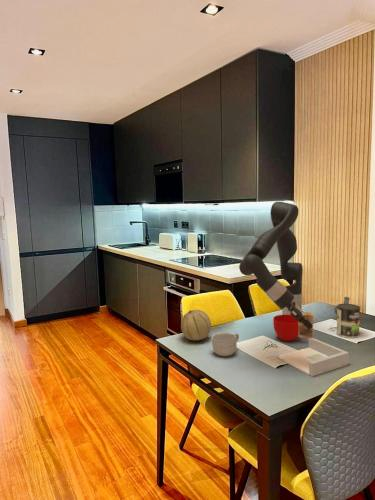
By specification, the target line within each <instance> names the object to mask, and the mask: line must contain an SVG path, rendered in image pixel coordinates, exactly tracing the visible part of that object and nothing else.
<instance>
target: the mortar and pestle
mask: <svg viewBox="0 0 375 500" xmlns="http://www.w3.org/2000/svg"><path fill="white" fill-rule="evenodd" d="M343 299H344V300H343V304H350V303H349V302H350V300H351V299H350V297H348V296H344V297H343ZM334 314H335V315H336V316H337V305H336V306H334Z"/></svg>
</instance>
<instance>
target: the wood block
mask: <svg viewBox="0 0 375 500" xmlns="http://www.w3.org/2000/svg"><path fill="white" fill-rule="evenodd" d="M302 313H303V316H304V317H306V319H307V320H308V321H309V322H310V323H311V324H312V325H313V327H312V328H311V329H308V328H307V327H306V326H305V325H304V324H303V323H300V322H299V321H298V336H297V337H298V338H304V339H305V338H307V339H309V338H314V314H313V313H314V312H312V311H311V312H310V311H309V312H308V311H307V312H306V311H303V312H302ZM301 318H302V317H299V319H301Z"/></svg>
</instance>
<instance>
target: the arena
mask: <svg viewBox="0 0 375 500" xmlns="http://www.w3.org/2000/svg"><path fill="white" fill-rule="evenodd" d="M349 356H350V354H349V351H346V350H343V349H341V348H338V347H336V346H333V345H332V344H329V343H327V342H323V341H321V340H319V339H317V338H314V337H313V338H308V347H306V348H302V349H298V350H294V351H291V352H287V353H283V354H281V355H277V356H276V358H277V357H278V358H277V359H279V358H280V359H282V360H283V361H282V360H281V361H282V362H284V361H285V362H284V363H286V364H288V365H290V366H292V367H293V368H296V369H297V370H300V371H301V372H303V373H305V374H307V375H309V376H311V377H315V376H318V375H321V374H324V373H327V372H331V371H334V370H336V369H340V368H342V367H346V366H348V365H349V363H350V362H349V359H350V357H349ZM280 359H279V360H280Z"/></svg>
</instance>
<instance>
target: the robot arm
mask: <svg viewBox="0 0 375 500" xmlns="http://www.w3.org/2000/svg"><path fill="white" fill-rule="evenodd" d="M299 211H300V210H299V207H298V206H297V205H295V204H294V203H289V202H285V201H284V202H283V201H275V202H274V203H273V204H272V205H271V207H270V221H271V224H272V226H273V227H272V228H270V229H268V230H267V231H265V232H263V233H261V235H260V236H258V238H257V240H256V241H255V242H254V244H253V245H252V247H251V248H250V249H249V251H248V252H247V253H246V255H245V256H244V257H243V258H242V260H240V262H239V265H238V268H239V272H240V273H241V274H242V275H244V276H246V277H247V276H251V275H254V276H255V277H256V280H255V282H256V284H257V286H258V287H259V288H260V289H261V290H262V291H263V292H264V293H265V294H266V296H267V297H268V298H269V299H270V300H271V301H272V302H273V303H274V304H275V305H276V306H277V307H278V308H279V309H280V310H282V312H281V313H282V314H281V315H292V316H293V317H294V318H295V319H297V320H298V321H299V322H300V323H303V324H304V325H305V326H306V327H307V328H308V329H311V328H312V327H313V328H314V324H313V325H312V324H311V323H310V322H309V321H308V320H307V319H306V317H304V316H303V313H302V312H304V311H303V310H302V308H303V306H302V305H303V298H302V297H303V296H302V295H303V290H302V289H303V271H304V270H303V264H302V263H300V262H289V261H290V260H291V259H292V258H293V257H294V255H296V253H297V250H298V244H297V243H298V242H297V238H296V234H294V232H293V231H292V230H291V229H290V228H291V227H292V226H293V225H294V224H295V223H296V221H297V219H298V216H299ZM275 244H276V247H277V251H278V255H279V256H278V257H279V263H280V264H279V265H280V266H279V268H280V276H281V278H282V280H286V281H295V282H293V283H292V284H289V285H286V286H285V285H284V284H283V283H282V282H280V281H279V280H278V279H277V278H276V277H275V276H274V275H273V274H272V273H271V272H270V270H269V268H268V267H267V266H266V265H267V264H265V262H264V259H265V258H266V257H267V256H268V255H269V253H270V252H271V250H272V249H273V247H274V245H275ZM299 317H302V318H301V319H299Z"/></svg>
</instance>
